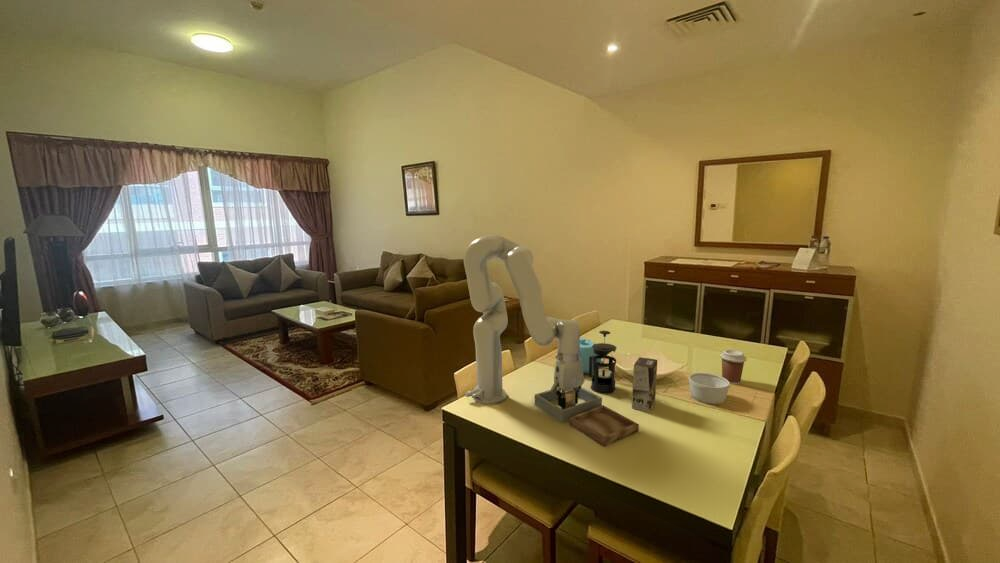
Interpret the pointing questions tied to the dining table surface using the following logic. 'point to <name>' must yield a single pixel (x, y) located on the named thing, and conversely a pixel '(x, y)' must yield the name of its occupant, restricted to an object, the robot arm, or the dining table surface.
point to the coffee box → (644, 384)
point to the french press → (603, 374)
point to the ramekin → (708, 387)
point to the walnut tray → (604, 425)
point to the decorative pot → (587, 354)
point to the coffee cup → (732, 365)
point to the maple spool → (569, 398)
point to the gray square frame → (564, 415)
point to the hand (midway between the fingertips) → (567, 404)
